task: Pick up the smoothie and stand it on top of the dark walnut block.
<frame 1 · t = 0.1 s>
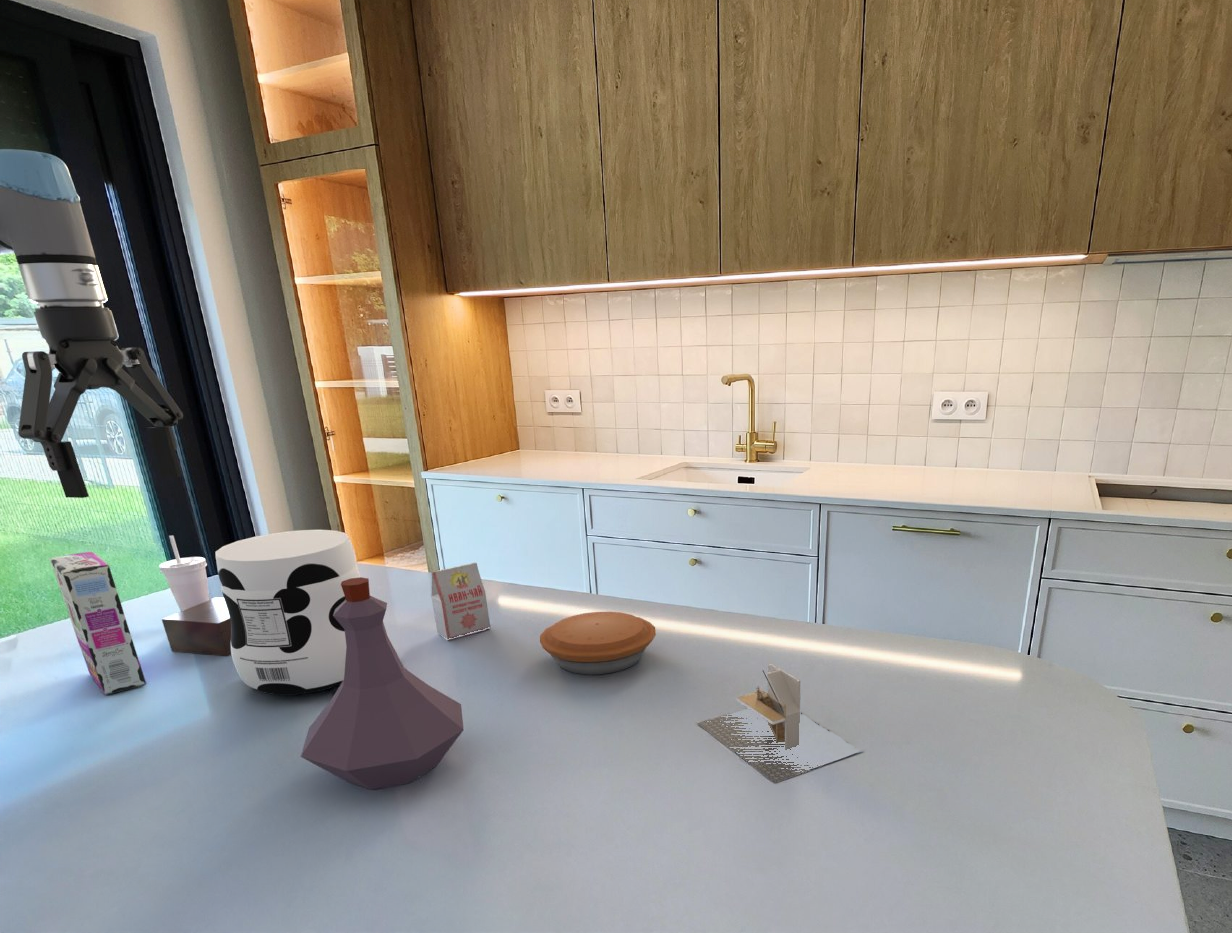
hand: (127, 486, 102), 24 cm above the countertop, tool pointing down, fingers open, 13 cm apart
flask: (393, 767, 82), on the countertop
candy bar box: (119, 680, 106), on the countertop
walnut block: (226, 641, 118), on the countertop
architectural model: (776, 738, 85), on the countertop
tea bag: (464, 632, 118), on the countertop
smoothie: (199, 621, 127), on the countertop
milk container: (316, 678, 104), on the countertop
pie: (599, 659, 107), on the countertop
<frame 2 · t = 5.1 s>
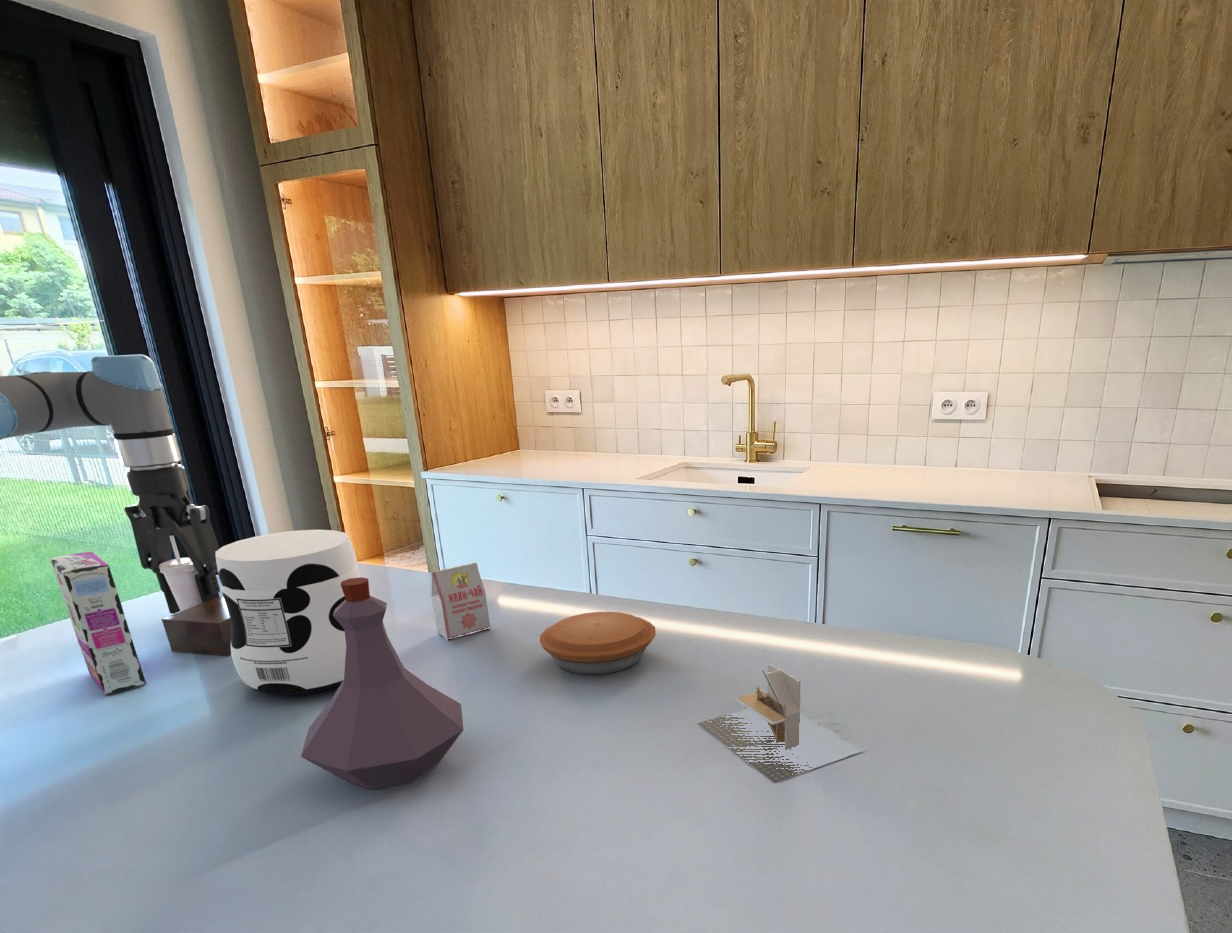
hand: (196, 611, 126), 1 cm above the countertop, tool pointing down, fingers closed on smoothie, 6 cm apart
smoothie: (199, 621, 127), on the countertop, touching gripper
everything else where it was.
when the fingers open (6 cm above the countertop, at t = 11.6 s): smoothie stays where it is, resting on walnut block.
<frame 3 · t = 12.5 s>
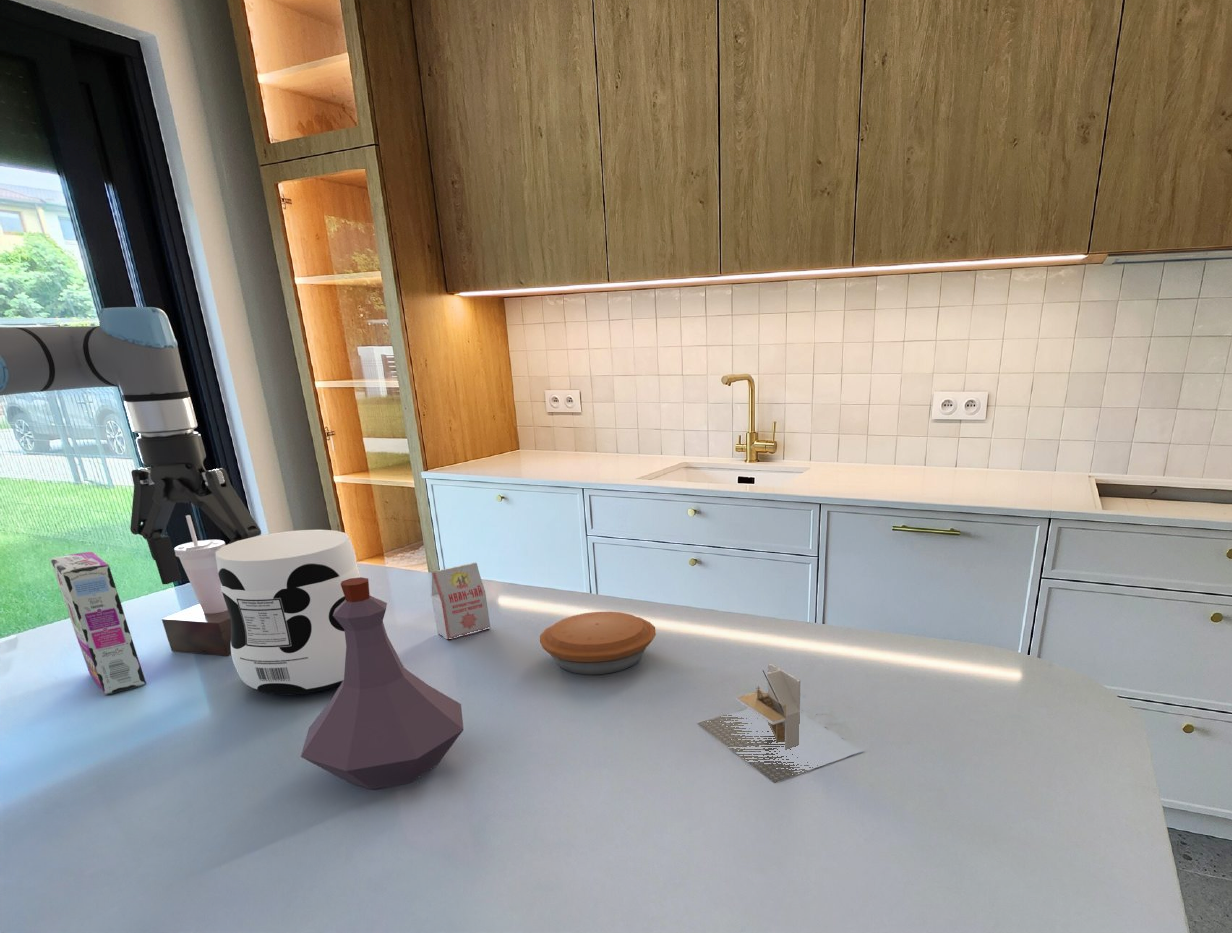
hand: (210, 584, 114), 9 cm above the countertop, tool pointing down, fingers open, 13 cm apart
walnut block: (226, 641, 118), on the countertop, touching smoothie
smoothie: (218, 610, 116), point 5 cm above the countertop, touching walnut block
everything else where it was.
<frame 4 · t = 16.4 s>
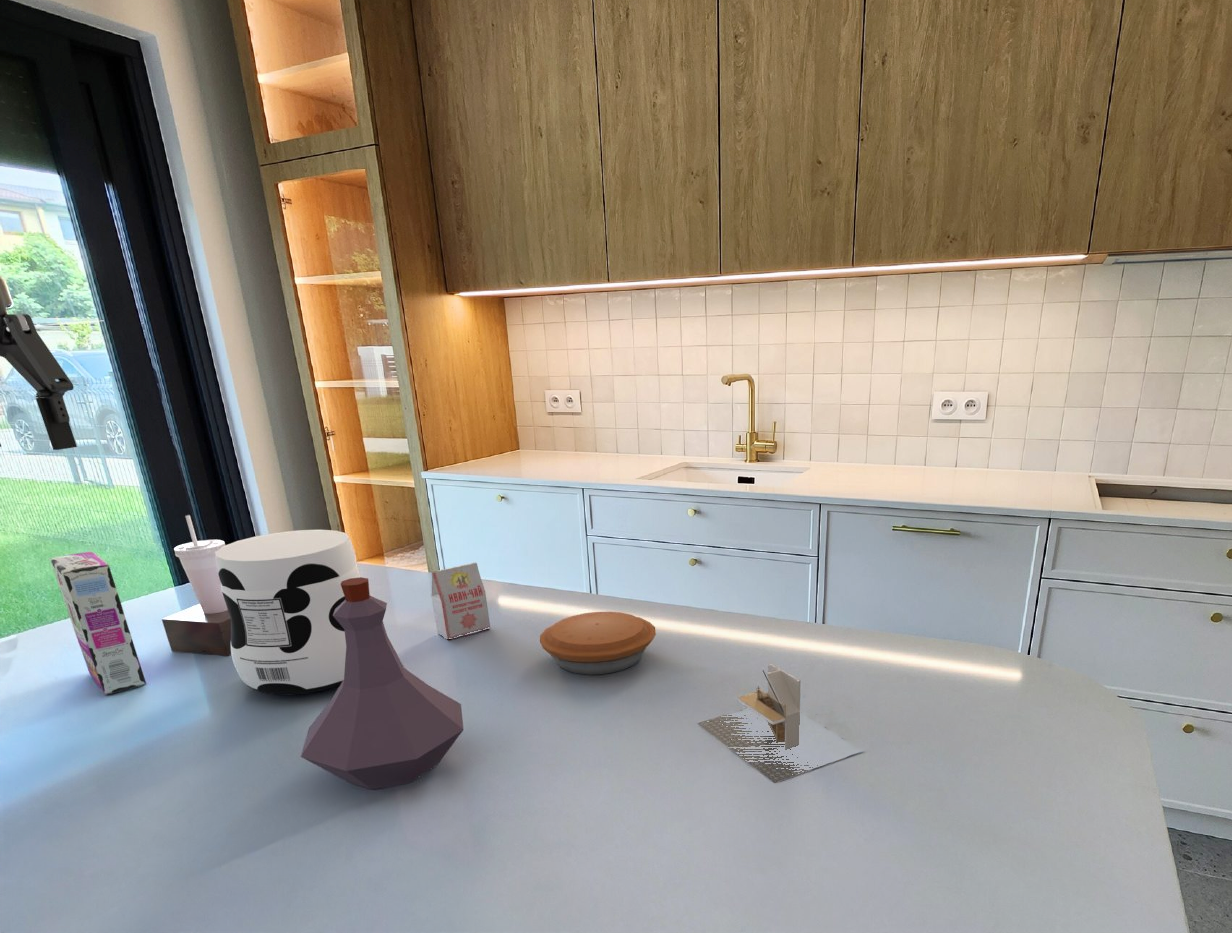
hand: (26, 448, 107), 29 cm above the countertop, tool pointing down, fingers open, 13 cm apart
nothing on the countertop moved.
at the end: smoothie 0.0 cm off-centre on the walnut block, point 4.8 cm above the walnut block's base; smoothie tilted 0°; the gripper is holding nothing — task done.
